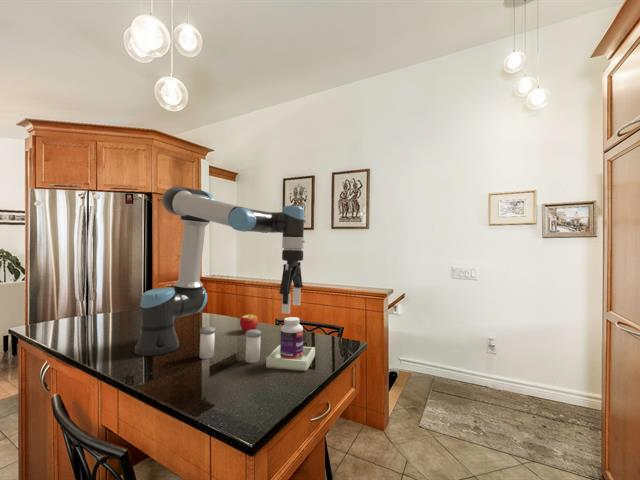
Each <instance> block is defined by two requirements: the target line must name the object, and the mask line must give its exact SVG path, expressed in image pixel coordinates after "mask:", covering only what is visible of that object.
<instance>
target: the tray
mask: <svg viewBox="0 0 640 480" xmlns="http://www.w3.org/2000/svg"><path fill="white" fill-rule="evenodd" d="M280 351H281V344H279V345H278V346H276V348H275V349H274V350H273V351H272V352H271V353H270V354H269V355H268V356H267V357H266V358H265V362H266V363H265V368H267V369H276V370H277V369H279V370H289V371H300V372H301V371H302V372H303V371H304V372H307V370H308V369H309V367H310V366H311V364H312V362H313V360H314V358H315V357H316V347H315V346H312V347H311V346H303V358H302V359H301V360H295V359H283V358H281V357H280Z"/></svg>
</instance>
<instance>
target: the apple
mask: <svg viewBox="0 0 640 480" xmlns="http://www.w3.org/2000/svg"><path fill="white" fill-rule="evenodd" d="M252 311H253V310H252V309H251V310H250V311H249V314H245V315H242V316H241V317H240V319H239V326H240V328H241V330H242V331H243V332H244V333H246V331H248V330H257V327H258V323H259V318H258V316H257V315H255V314H251V313H252Z"/></svg>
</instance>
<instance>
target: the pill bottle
mask: <svg viewBox="0 0 640 480" xmlns="http://www.w3.org/2000/svg"><path fill="white" fill-rule="evenodd" d="M300 321H301V320H300V317H297V316H295V317H294V316H289V317H285V318H284V319H283V323H284V324H283V325H281V327H280V345H281V351H280V357H281V358H283V359H295V360H301V359H302V358H303V347H304V327H303V325H301V324H300Z"/></svg>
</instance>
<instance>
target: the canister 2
mask: <svg viewBox="0 0 640 480" xmlns="http://www.w3.org/2000/svg"><path fill="white" fill-rule="evenodd" d="M245 336H246V337H245V338H246V339H245V358H244V359H245V361H244V362H246V363H249V364H254V363H256V364H257V363H258V362H260V360H261V342H262V341H261V339H262V338H261V337H262V330H260V329H255V330H248V331H246V332H245Z"/></svg>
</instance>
